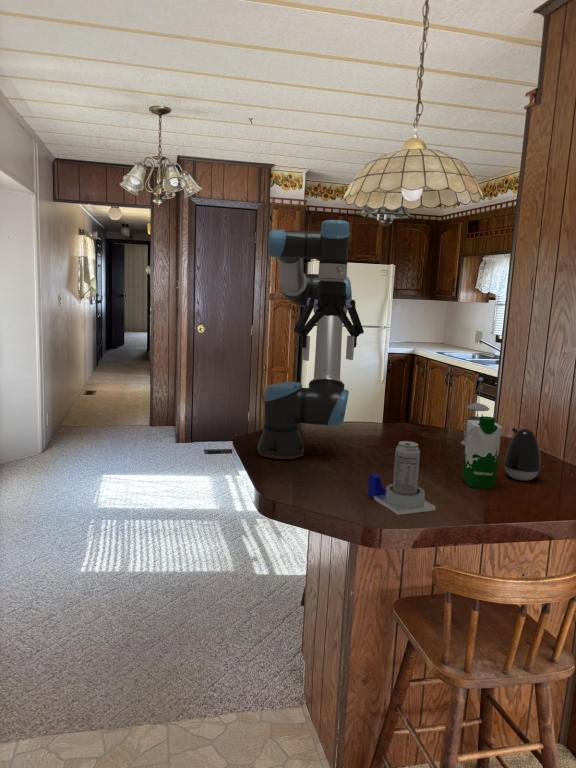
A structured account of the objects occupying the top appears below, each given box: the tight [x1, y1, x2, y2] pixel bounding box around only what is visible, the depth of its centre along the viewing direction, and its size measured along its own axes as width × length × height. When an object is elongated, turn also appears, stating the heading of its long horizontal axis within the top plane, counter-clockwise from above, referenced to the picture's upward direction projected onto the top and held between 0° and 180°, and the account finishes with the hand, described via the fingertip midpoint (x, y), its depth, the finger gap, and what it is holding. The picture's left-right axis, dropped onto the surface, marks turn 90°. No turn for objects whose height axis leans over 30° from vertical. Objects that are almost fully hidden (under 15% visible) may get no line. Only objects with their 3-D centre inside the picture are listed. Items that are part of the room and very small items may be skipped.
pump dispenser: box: [503, 427, 542, 482], centre depth 172 cm, size 10×10×15 cm
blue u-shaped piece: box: [367, 473, 386, 500], centre depth 153 cm, size 12×4×6 cm, turn 113°
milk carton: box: [462, 415, 503, 490], centre depth 164 cm, size 9×9×20 cm
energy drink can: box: [392, 440, 421, 495], centre depth 145 cm, size 6×6×15 cm
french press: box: [460, 377, 490, 446], centre depth 209 cm, size 10×12×25 cm
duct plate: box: [373, 483, 436, 516], centre depth 146 cm, size 11×11×4 cm
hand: (327, 359), depth 156 cm, fingers open, 13 cm apart
